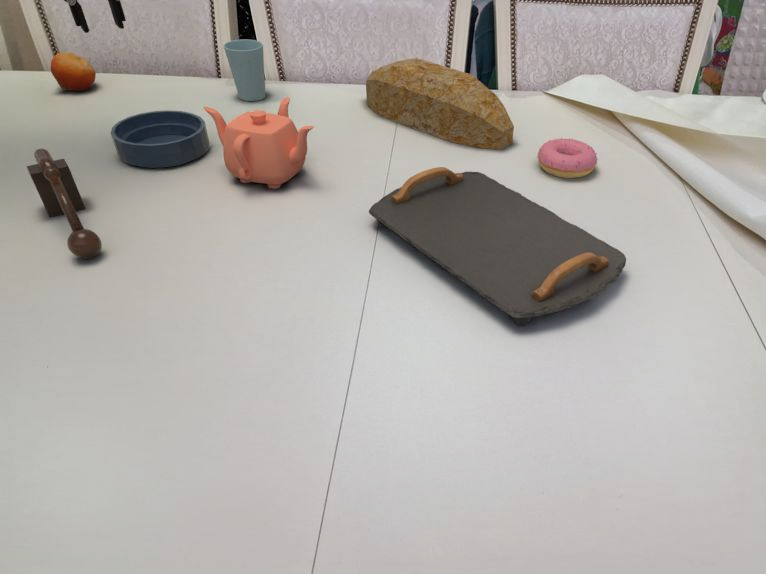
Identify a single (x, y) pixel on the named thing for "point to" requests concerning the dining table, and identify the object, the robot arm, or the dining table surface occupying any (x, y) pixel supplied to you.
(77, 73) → the fruit
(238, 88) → the cup
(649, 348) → the dining table surface
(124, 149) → the bowl
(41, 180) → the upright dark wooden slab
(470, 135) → the bread
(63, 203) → the brown ball-ended stick
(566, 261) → the serving tray
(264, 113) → the teapot
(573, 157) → the doughnut
